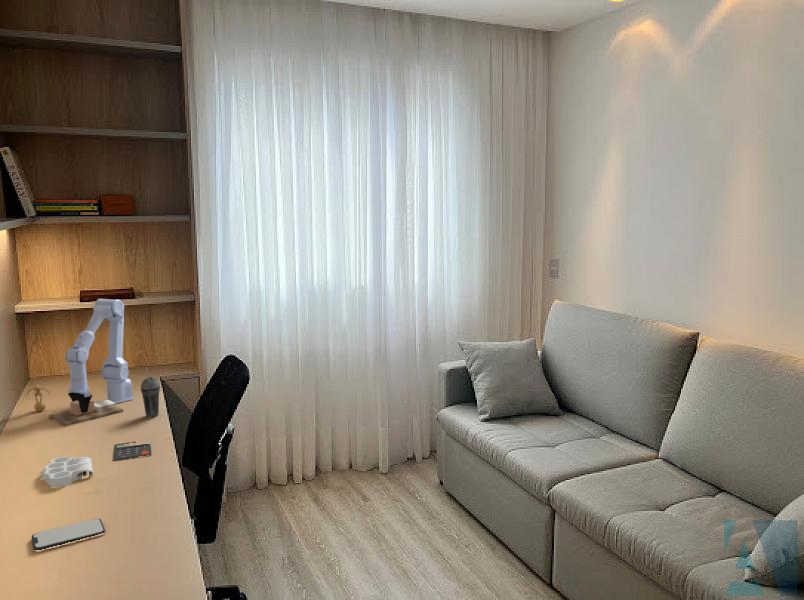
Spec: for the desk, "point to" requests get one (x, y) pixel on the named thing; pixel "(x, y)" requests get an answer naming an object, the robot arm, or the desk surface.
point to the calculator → (130, 451)
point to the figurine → (40, 405)
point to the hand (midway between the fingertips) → (81, 410)
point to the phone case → (67, 534)
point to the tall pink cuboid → (76, 407)
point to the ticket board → (100, 408)
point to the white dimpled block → (66, 470)
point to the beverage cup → (150, 396)
